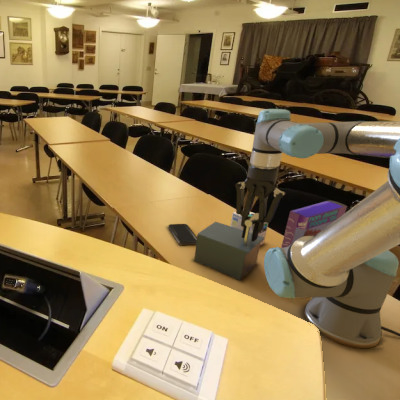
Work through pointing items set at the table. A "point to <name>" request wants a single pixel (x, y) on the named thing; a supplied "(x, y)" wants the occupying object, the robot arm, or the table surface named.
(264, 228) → the light bulb box
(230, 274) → the dark green box
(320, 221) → the cereal box
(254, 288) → the table surface
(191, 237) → the phone
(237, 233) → the lid
